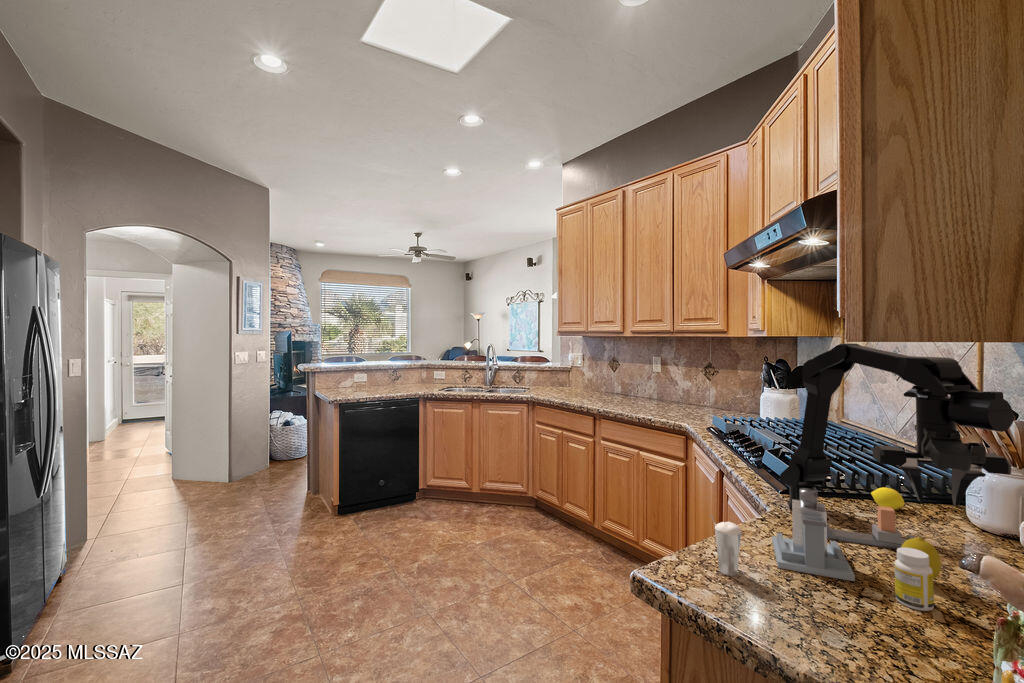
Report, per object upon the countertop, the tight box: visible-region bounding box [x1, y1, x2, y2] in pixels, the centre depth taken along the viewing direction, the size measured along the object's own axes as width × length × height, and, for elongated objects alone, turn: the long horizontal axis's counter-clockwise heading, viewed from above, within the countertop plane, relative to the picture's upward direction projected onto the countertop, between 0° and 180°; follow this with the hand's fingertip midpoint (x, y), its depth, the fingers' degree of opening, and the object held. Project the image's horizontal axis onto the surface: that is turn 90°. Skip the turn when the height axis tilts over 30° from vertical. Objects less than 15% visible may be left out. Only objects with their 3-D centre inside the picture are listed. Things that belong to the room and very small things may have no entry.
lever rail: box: [827, 523, 916, 550], centre depth 98 cm, size 4×16×2 cm, turn 64°
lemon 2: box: [901, 536, 942, 580], centre depth 81 cm, size 6×6×8 cm
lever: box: [871, 505, 903, 544], centre depth 96 cm, size 4×4×6 cm
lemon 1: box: [870, 486, 905, 511], centre depth 118 cm, size 7×5×5 cm
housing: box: [791, 488, 828, 557], centre depth 90 cm, size 6×6×12 cm
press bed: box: [771, 515, 856, 582], centre depth 90 cm, size 13×12×10 cm
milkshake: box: [710, 514, 742, 577], centre depth 86 cm, size 4×5×10 cm
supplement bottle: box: [893, 547, 935, 612], centre depth 74 cm, size 5×5×8 cm
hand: (938, 503), depth 87 cm, fingers open, 5 cm apart
